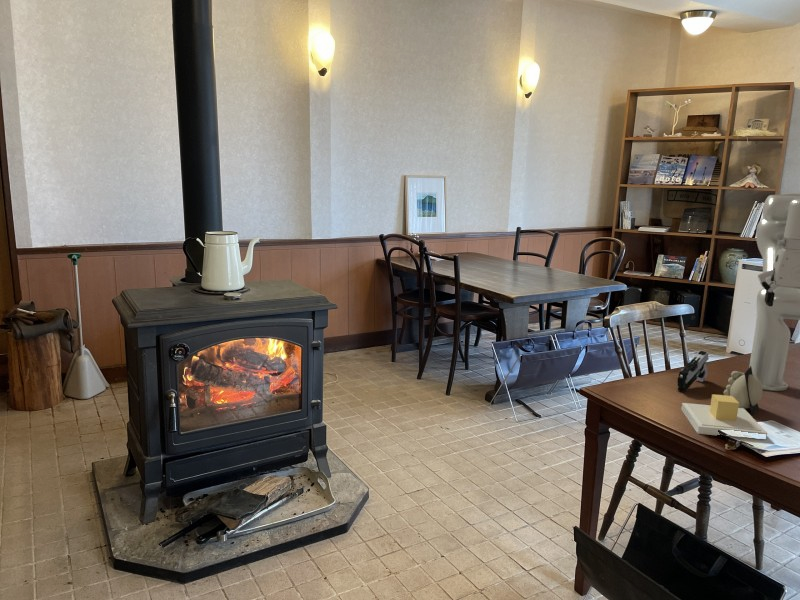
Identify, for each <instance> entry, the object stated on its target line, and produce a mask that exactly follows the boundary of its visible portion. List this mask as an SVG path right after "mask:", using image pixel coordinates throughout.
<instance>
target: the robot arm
mask: <svg viewBox="0 0 800 600" xmlns="http://www.w3.org/2000/svg"><path fill="white" fill-rule="evenodd" d="M762 216H763V218H762V219H760V221H759V222H758V223H757V226H756V229H755V230H756V233H755V234H756V238H755V239H756V244H757V248H758V251H759V254H760V255H761V258H762V273H760V274H757V278H758V281H759V285H761V286H762V288H761V289H760V290H759V291H758V293H757V296H756V320H755V321H756V322H755V328H754V335H753V342H752V348H751V352H750V353H751V354H750V360H749V366H748V369H749V368H750V366H751V368H752V374H753V375H754V376H756V377H757V378H758V379H759V380H760V381H761V383H762V387H763V390H765V391H772V392H774V391H775V392H781V391H786V390H788V386H789V385H788V383H787V382H786V381H784V376H785V369H786V363H787V358H788V351H789V347H790V341H791V330H790V327H789V326H788V325H787V324H786V323H785V321H784V319H786V320H787V319H788V320H796V321H797V320H798V321H800V192H787V193H783V194H770V195H768V196H767V197H766V199H765V200H764V204H763V207H762Z"/></svg>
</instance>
